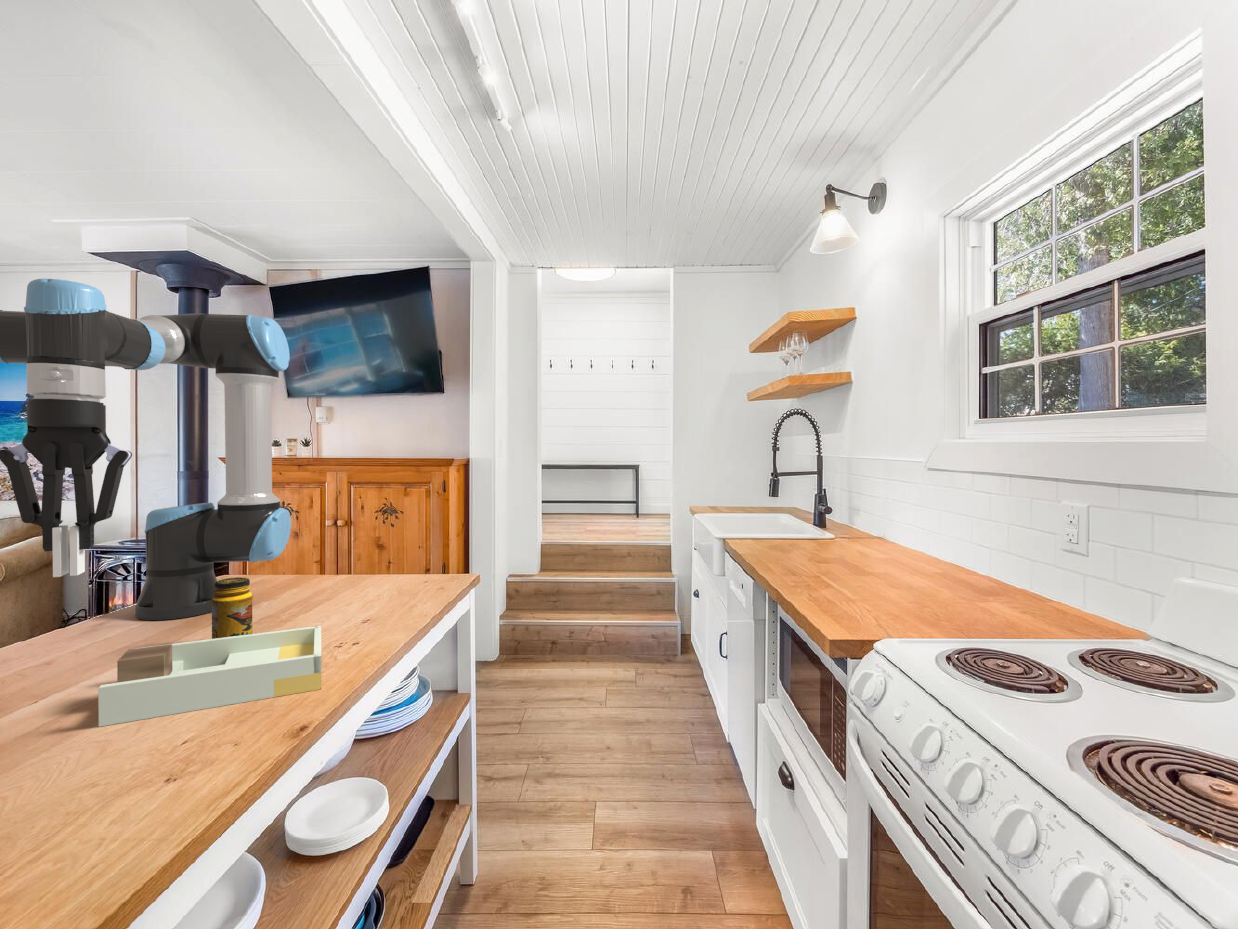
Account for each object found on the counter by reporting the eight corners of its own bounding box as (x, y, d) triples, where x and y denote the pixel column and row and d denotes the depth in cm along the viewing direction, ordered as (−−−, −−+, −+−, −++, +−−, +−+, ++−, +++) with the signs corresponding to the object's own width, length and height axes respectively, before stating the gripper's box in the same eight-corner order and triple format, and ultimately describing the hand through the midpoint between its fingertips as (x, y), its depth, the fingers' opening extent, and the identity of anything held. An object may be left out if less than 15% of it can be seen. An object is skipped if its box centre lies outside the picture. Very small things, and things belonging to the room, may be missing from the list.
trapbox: (135, 680, 85) (135, 648, 85) (321, 654, 97) (321, 625, 97) (98, 726, 71) (98, 688, 71) (321, 689, 83) (321, 655, 82)
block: (128, 677, 80) (128, 649, 80) (172, 670, 83) (172, 644, 82) (117, 690, 76) (117, 661, 76) (164, 683, 78) (163, 655, 78)
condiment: (254, 648, 99) (254, 581, 99) (195, 657, 95) (195, 587, 94) (254, 636, 105) (254, 574, 105) (198, 645, 101) (198, 579, 101)
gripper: (-23, 393, 68) (-20, 585, 68) (126, 400, 75) (128, 575, 75) (8, 398, 74) (10, 573, 75) (142, 404, 81) (143, 564, 82)
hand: (69, 574), depth 75 cm, fingers closed
